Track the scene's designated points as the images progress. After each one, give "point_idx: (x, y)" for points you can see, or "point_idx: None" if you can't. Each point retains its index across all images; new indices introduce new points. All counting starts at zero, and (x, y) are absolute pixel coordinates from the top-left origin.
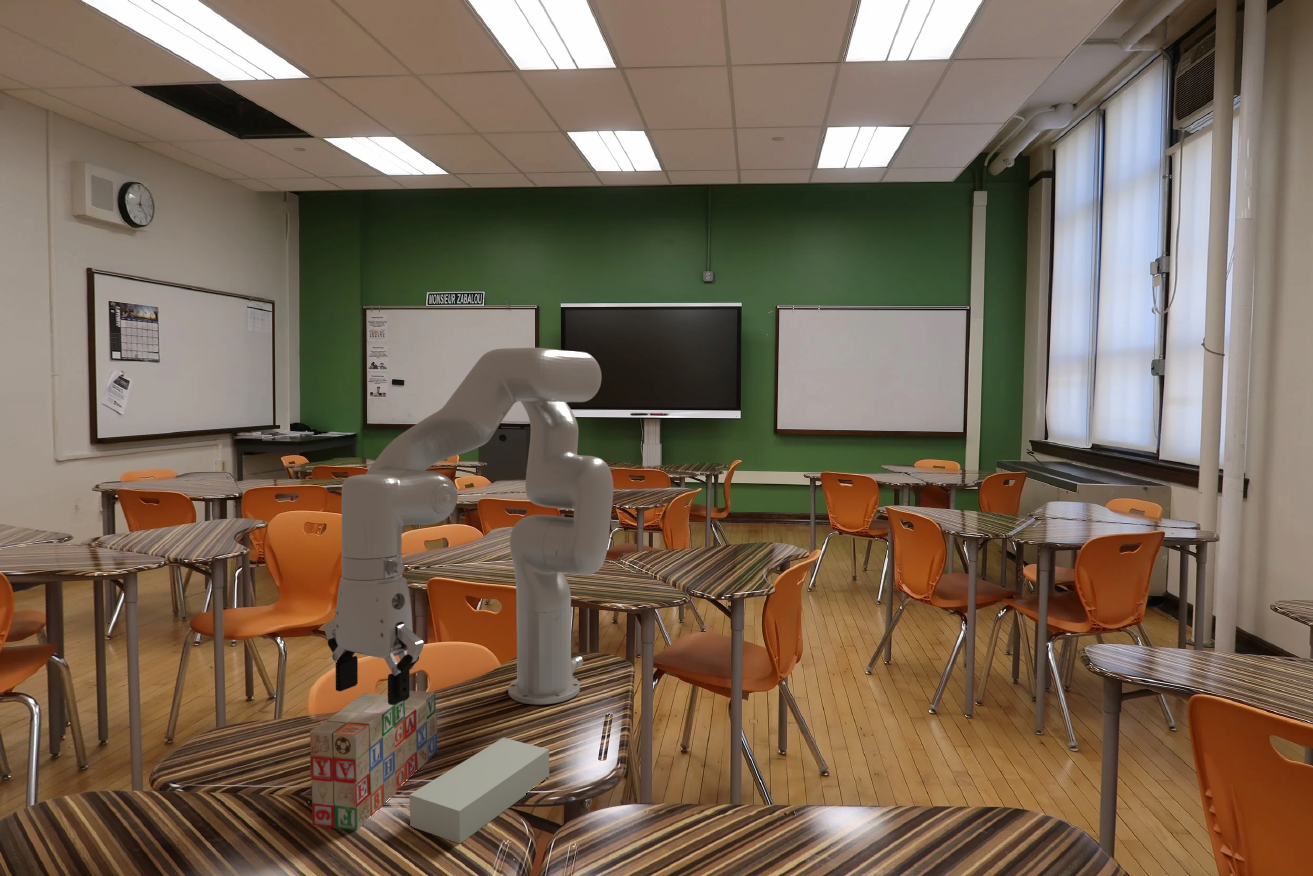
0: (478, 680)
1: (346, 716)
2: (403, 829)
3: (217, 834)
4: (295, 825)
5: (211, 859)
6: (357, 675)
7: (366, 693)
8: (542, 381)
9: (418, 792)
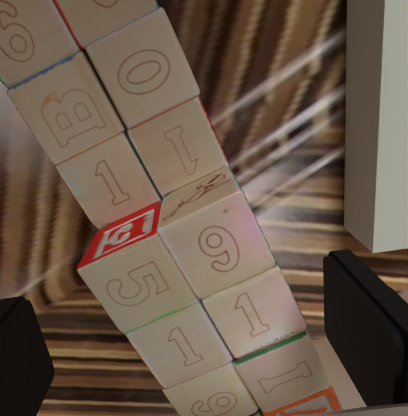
0: None
1: (221, 396)
2: (339, 237)
3: (116, 390)
4: None
5: (172, 412)
6: (7, 325)
7: (88, 268)
8: None
9: (382, 238)
